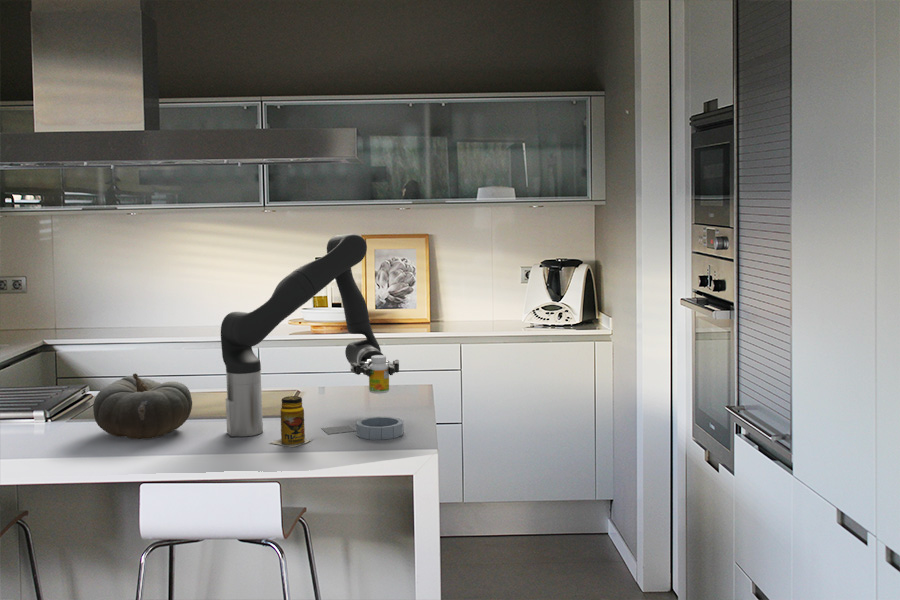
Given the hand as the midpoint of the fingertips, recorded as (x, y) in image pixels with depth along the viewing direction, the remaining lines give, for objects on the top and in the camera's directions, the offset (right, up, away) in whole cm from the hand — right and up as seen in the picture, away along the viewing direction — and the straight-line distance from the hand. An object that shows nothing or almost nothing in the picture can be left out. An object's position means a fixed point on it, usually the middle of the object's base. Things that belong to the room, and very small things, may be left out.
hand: (380, 372), depth 229 cm
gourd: (-65, -18, +7) cm, 68 cm away
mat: (-12, -17, +9) cm, 23 cm away
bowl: (0, -17, +4) cm, 18 cm away
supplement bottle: (-1, -6, +3) cm, 7 cm away
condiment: (-23, -18, -4) cm, 30 cm away
